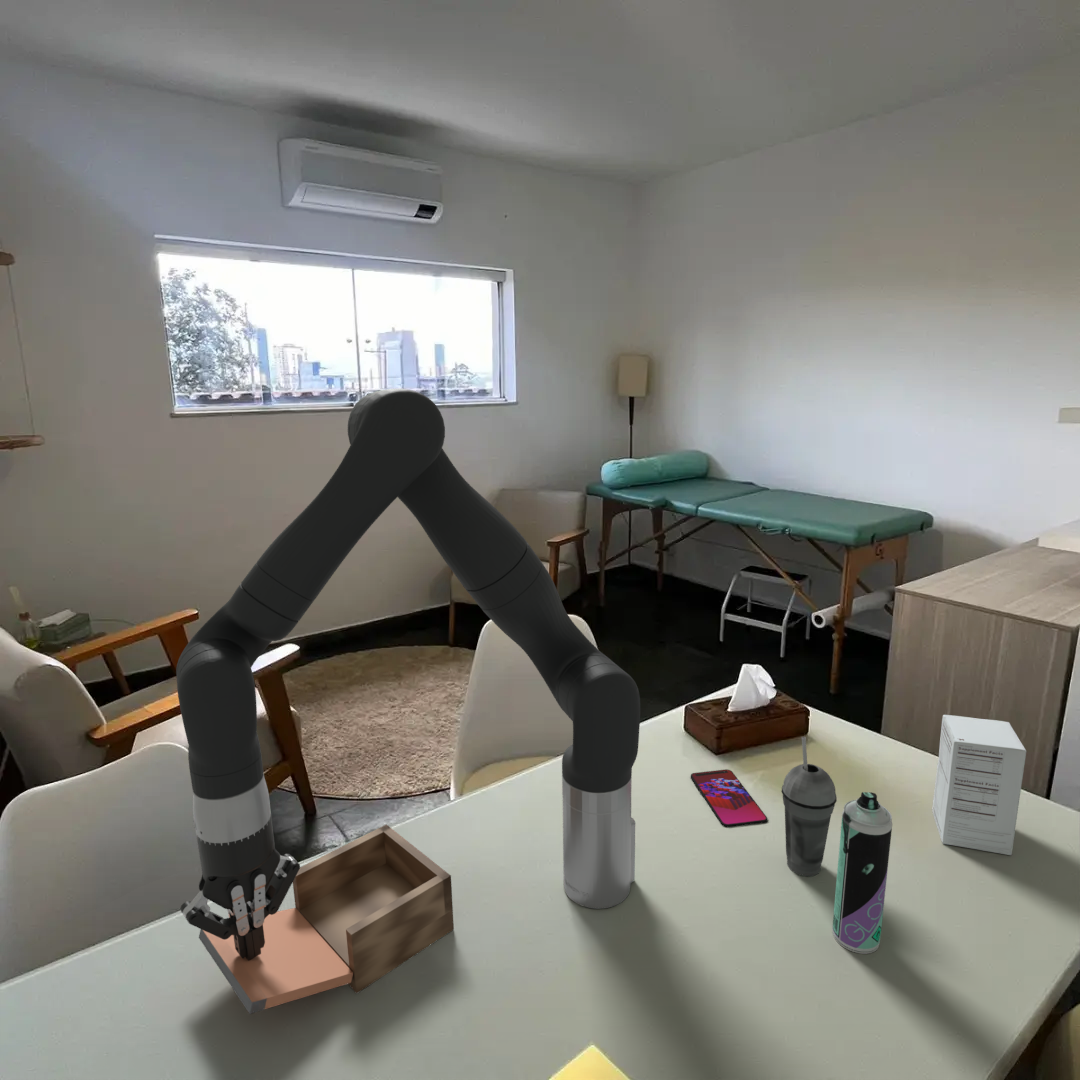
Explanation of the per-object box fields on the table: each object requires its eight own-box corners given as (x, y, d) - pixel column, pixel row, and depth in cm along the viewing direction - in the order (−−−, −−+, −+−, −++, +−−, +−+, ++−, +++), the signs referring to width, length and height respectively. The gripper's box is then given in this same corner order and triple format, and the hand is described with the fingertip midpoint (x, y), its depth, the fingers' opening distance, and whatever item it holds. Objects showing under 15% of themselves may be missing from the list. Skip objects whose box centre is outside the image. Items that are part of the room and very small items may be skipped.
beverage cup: (835, 886, 100) (846, 754, 96) (779, 879, 102) (788, 749, 97) (826, 852, 107) (836, 727, 103) (774, 846, 109) (781, 723, 104)
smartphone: (723, 825, 113) (688, 773, 128) (722, 830, 114) (688, 777, 128) (770, 820, 115) (730, 768, 129) (769, 824, 115) (730, 773, 129)
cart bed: (390, 873, 105) (386, 824, 103) (453, 929, 94) (450, 875, 92) (297, 925, 95) (291, 871, 93) (356, 993, 85) (351, 934, 83)
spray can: (858, 960, 88) (873, 812, 83) (822, 930, 93) (834, 789, 88) (889, 943, 90) (905, 799, 86) (852, 915, 95) (865, 777, 90)
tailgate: (295, 907, 94) (201, 927, 86) (353, 972, 84) (252, 1002, 76) (293, 916, 94) (198, 937, 86) (350, 982, 84) (249, 1013, 76)
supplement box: (1013, 857, 106) (1029, 751, 102) (941, 845, 108) (954, 741, 105) (996, 819, 114) (1010, 720, 110) (930, 808, 117) (941, 712, 113)
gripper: (180, 863, 72) (203, 1008, 76) (307, 807, 81) (321, 940, 85) (156, 830, 77) (178, 967, 81) (277, 780, 86) (292, 907, 90)
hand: (251, 953), depth 83 cm, fingers closed
